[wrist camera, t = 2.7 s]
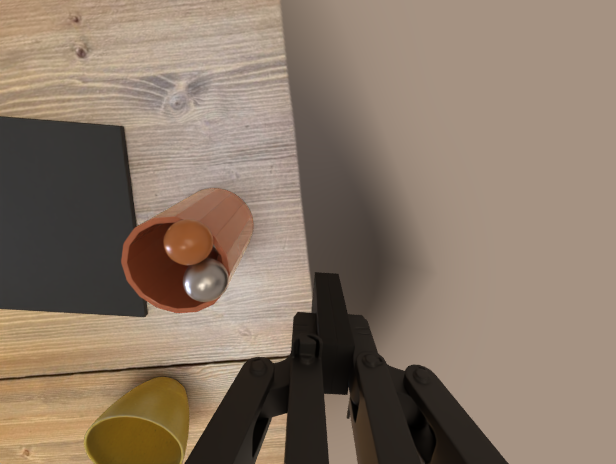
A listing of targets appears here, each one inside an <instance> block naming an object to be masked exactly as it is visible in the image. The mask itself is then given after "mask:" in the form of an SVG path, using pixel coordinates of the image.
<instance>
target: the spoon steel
mask: <svg viewBox="0 0 616 464" xmlns="http://www.w3.org/2000/svg"><path fill="white" fill-rule="evenodd" d="M217 257H218V251H217V249H216V248H215V246H214V245H213V248H212V251H211V253H210V254H209V256H208V257H207V258H206V259H205V260H203V261H202V262H200V263H198V264H194V265H190V266H189V267H188V268H187V269H186V271H185V273H184V276H183V287H184V289H185V291H186V293H187V294H188V295H189V296H190V297H191V298H192V299H194V300H196V301H199V302H210V301H213V300H215V299H217V298H219V297H220V296H221V295H222V294H223V293H224V292H225V290H226V288H227V286H228V281H229V277H228V272H227V270H226V268H225V267H224V265H223V264H222V263H220V262H219V261H217Z"/></svg>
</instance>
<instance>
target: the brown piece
mask: <svg viewBox="0 0 616 464" xmlns="http://www.w3.org/2000/svg"><path fill="white" fill-rule="evenodd" d="M163 242H164V249H165V252H166V253H167V255H168V256H169V257H170V258H171V259H172V260H173V261H175V262H176V263H179V264H182V265H194V264H198V263H200V262H202V261H203V260H205V259H206V258H207V257H208V256H209V254H210V253H211V251H212V248H213V236H212V233H211V231H210V230H209V228H208V227H207V226H206V225H205V224H203V223H202V222H200V221H197V220H193V219H185V220H180V221H178V222H176V223H174V224H173V225H171V226H170V227H169V229H168V230H167V231H166V233H165V236H164V241H163Z"/></svg>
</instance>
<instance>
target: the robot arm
mask: <svg viewBox="0 0 616 464" xmlns="http://www.w3.org/2000/svg"><path fill="white" fill-rule="evenodd" d="M348 387H349V391H350V400H349V405H348V411H347V418H348V419H349V417H350V416H351V422H352V428H353V435H354V441H355V448H356V455H357V461H358V464H508V462H507V461H506V460H505V459H504V458H503V456H502V455H501V454H500V453H499V452H498V450H497V449H496V448H495V447H494V446H493V444H492V443H491V442H490V441H489V439H488V438H487V437H486V436H485V435H484V433H483V432H482V431H481V430H480V428H479V427H478V426H477V425H476V424H475V422H474V421H473V420H472V419H471V418H470V417H469V415H468V414H467V413H466V411H465V410H464V409H463V408H462V407H461V406H460V404H459V403H458V402H457V400H456V399H455V398H454V397H453V396H452V395H451V393H450V392H449V391H448V390H447V388H446V387H445V386H444V385H443V383H442V382H441V381H440V380H439V379H438V377H437V376H436V375H435V374H434V373H433V372H432V371H431V370H429V369H428V368H426V367H423V366H421V365H411V366H408V367H407V368H406V370H405V371H403V370H400V369H396V368H394V367H391V366H389V365H387V364H386V361H385V360H384V358H383V357H382V356H380V355H379V354H378V352H377V349H376V346H375V343H374V340H373V337H372V335H371V331H370V328H369V324H368V321H367V320H366V319H365V318H364V317H363V316H362V315H350V314H347V310H346V305H345V300H344V296H343V292H342V287H341V283H340V279H339V275H338V274H331V273H317V272H315V278H314V288H313V299H312V313H306V312H297V314H296V315H295V316H294V319H293V333H292V348H291V354H290V355H289V357H288V358H286V359H285V360H283V361H281V362H278V363H272V362H271V361H270V360H269V359H267V358H265V357H255V358H251V359H250V360H248V361H247V362H246V363H245V364H244V365H243V366H242V368H241V370H240V372H239V373H238V375H237V377H236V378H235V380H234V382H233V383H232V385H231V387H230V388H229V390H228V392H227V393H226V395H225V397H224V398H223V400H222V402H221V403H220V405H219V407H218V408H217V410H216V412H215V413H214V415H213V417H212V418H211V420H210V422H209V424H208V425H207V427H206V429H205V430H204V432H203V434H202V435H201V437H200V439H199V440H198V442H197V444H196V445H195V447H194V449H193V450H192V452H191V454H190V455H189V457H188V459H187V460H186V462H185V464H255V462H256V459H257V456H258V454H259V451H260V449H261V446H262V443H263V441H264V438H265V435H266V433H267V430H268V428H269V425H270V422H271V419H272V417H274V416H278V415H282V414H285V413H287V425H286V441H285V457H284V464H329V459H328V443H327V430H326V416H325V402H324V394H342V395H347V393H348Z"/></svg>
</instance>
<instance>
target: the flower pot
mask: <svg viewBox="0 0 616 464" xmlns="http://www.w3.org/2000/svg"><path fill="white" fill-rule="evenodd" d="M188 432H189V406H188V399H187V394H186V391H185V388H184V387H183V386H182V384H181V383H179V382H178V381H176V380H174V379H172V378H168V377H156V378H153V379H151V380H149V381H147V382H145V383H143V384H141V385H139V386H137V387H136V388H134V389H132V390H131V391H129V392H128V393H126V394H125V395H124V396H122V397H121V398H120V399H119V400H117V401H116V402H115V403H114V404H112V405H111V406H110V407H109V408H108V409H107V410H106V411H105V412H104V413H103V414H102V415H101V416H100V417H99V418H98V419H97V420H96V421H95V422H94V423H93V424H92V425H91V427H90V428H89V429H88V430H87V432H86V434H85V437H84V448H85V451H86V454H87V455H88V457H89V458H90V460H91V461H92V462H93V463H94V464H182V462H183V459H184V455H185V451H186V446H187V440H188Z"/></svg>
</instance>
